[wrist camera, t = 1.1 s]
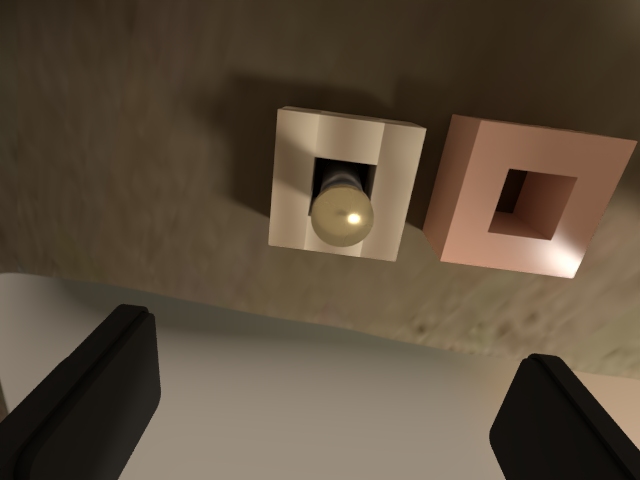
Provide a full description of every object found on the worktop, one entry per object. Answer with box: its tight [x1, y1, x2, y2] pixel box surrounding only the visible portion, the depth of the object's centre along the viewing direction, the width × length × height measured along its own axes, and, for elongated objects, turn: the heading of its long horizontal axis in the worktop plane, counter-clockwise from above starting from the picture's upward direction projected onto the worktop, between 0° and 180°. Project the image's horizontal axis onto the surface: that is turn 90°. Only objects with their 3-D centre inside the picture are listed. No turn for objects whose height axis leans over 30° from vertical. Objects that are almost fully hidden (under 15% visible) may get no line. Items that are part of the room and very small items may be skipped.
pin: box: [311, 159, 374, 247], centre depth 25 cm, size 4×4×11 cm
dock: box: [422, 114, 638, 278], centre depth 27 cm, size 10×10×6 cm
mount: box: [268, 106, 426, 261], centre depth 28 cm, size 10×10×5 cm
